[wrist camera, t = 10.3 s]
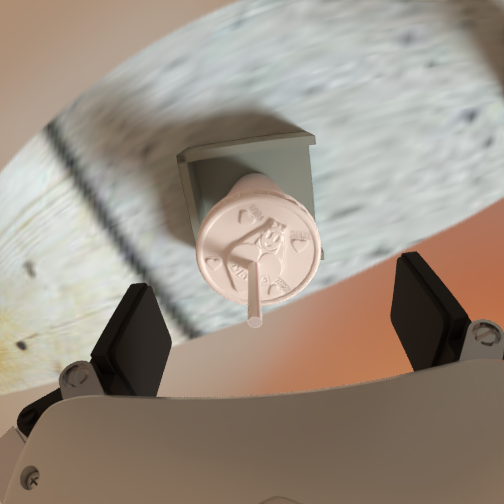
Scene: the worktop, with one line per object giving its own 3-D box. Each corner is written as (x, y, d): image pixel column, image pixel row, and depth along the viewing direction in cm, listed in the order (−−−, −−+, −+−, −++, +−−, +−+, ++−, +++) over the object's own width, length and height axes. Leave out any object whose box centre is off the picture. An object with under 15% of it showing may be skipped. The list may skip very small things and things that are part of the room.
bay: (305, 131, 22) (315, 135, 19) (315, 240, 26) (324, 259, 23) (186, 148, 23) (176, 155, 20) (208, 254, 27) (203, 275, 24)
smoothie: (200, 212, 24) (155, 334, 12) (237, 140, 22) (222, 200, 10) (270, 246, 26) (287, 382, 14) (311, 180, 23) (378, 280, 11)
